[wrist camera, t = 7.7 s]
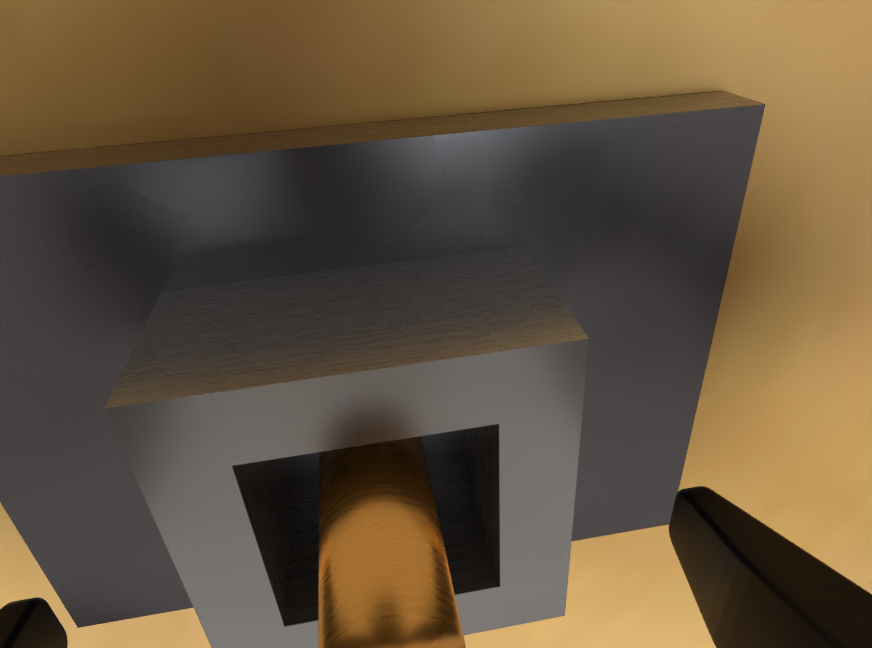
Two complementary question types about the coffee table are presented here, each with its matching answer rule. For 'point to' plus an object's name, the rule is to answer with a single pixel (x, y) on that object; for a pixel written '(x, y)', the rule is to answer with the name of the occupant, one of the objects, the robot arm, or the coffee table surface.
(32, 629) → the robot arm
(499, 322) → the grey square frame
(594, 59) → the coffee table surface
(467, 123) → the keeper
